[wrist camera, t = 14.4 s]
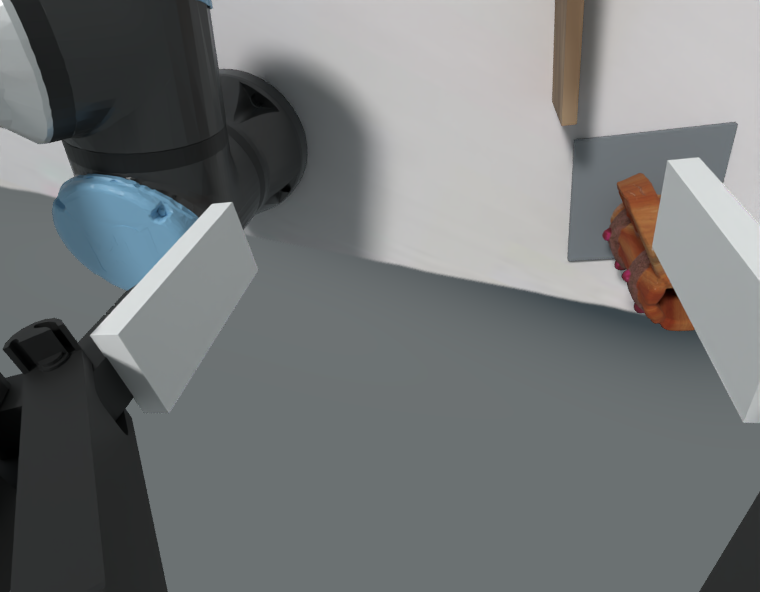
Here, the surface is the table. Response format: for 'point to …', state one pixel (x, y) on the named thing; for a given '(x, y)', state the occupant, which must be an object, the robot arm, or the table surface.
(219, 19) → the table surface
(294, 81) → the table surface
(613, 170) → the rubber mat
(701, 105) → the table surface
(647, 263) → the mug
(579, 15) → the wooden boards
